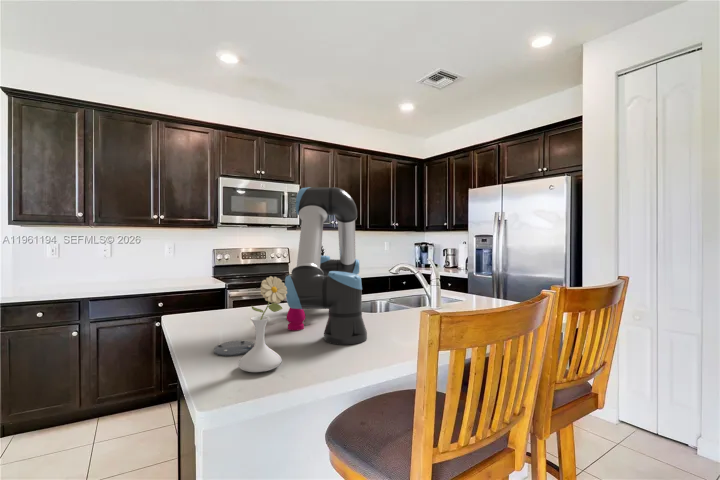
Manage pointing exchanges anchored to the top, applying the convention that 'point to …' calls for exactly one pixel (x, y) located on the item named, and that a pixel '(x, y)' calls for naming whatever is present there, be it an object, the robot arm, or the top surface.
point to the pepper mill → (295, 319)
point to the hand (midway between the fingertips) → (300, 298)
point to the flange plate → (233, 348)
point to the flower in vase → (260, 354)
